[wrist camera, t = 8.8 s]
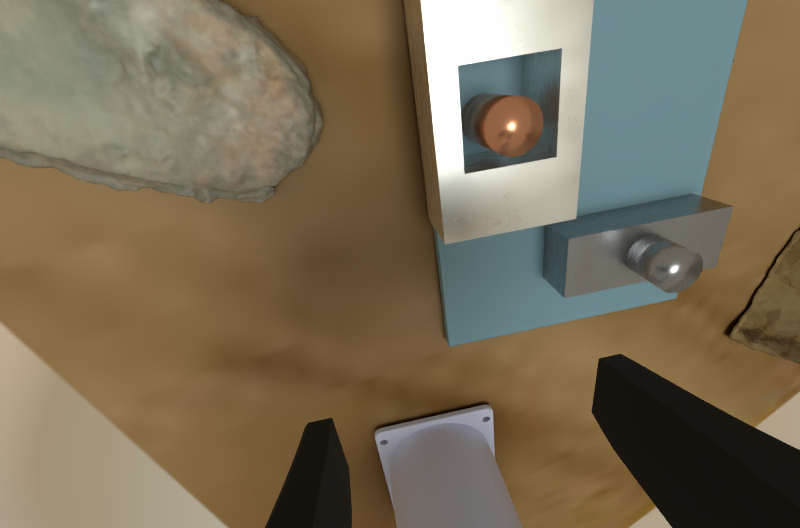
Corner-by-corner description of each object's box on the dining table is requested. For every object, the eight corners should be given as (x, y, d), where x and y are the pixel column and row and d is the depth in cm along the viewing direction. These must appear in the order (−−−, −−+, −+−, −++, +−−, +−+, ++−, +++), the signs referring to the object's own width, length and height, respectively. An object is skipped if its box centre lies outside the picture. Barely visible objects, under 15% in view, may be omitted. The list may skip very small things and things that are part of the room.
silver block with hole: (548, -32, 14) (598, -60, 11) (541, 198, 18) (576, 218, 15) (402, -10, 13) (417, -33, 11) (429, 219, 18) (444, 244, 15)
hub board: (665, 291, 23) (676, 298, 22) (446, 338, 22) (449, 346, 21) (737, -31, 15) (756, -36, 15) (410, 21, 15) (414, 17, 14)
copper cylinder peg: (505, 139, 16) (542, 151, 13) (461, 146, 16) (489, 161, 13) (504, 89, 15) (544, 91, 12) (458, 97, 15) (487, 101, 12)
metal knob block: (668, 243, 21) (755, 286, 17) (535, 270, 21) (588, 322, 16) (680, 189, 20) (778, 220, 15) (537, 217, 19) (596, 258, 15)
